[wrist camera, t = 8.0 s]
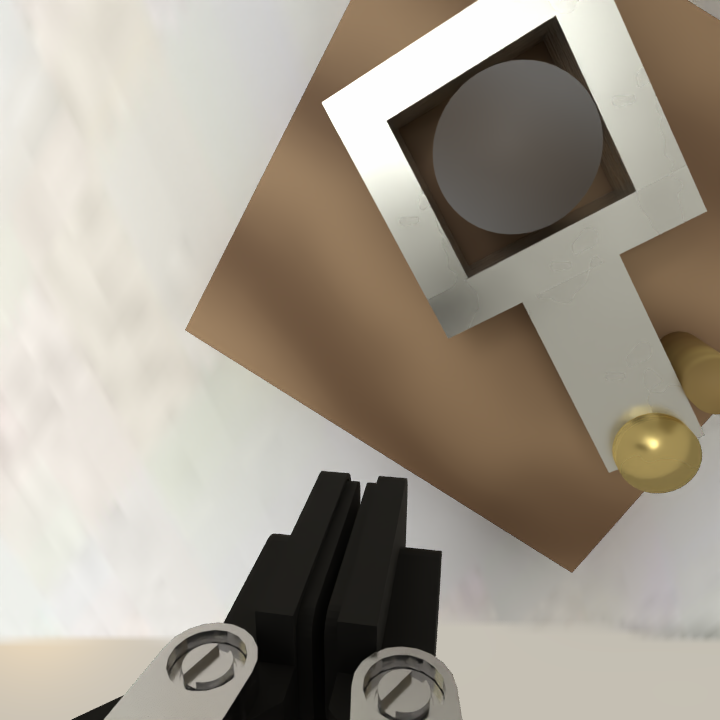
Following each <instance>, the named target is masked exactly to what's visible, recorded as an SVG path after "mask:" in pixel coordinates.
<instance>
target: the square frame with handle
mask: <svg viewBox="0 0 720 720" xmlns="http://www.w3.org/2000/svg"><path fill="white" fill-rule="evenodd" d="M541 41H544V43H545V45H546V47H547V49H548V51H549V53H550V56H551V58H552V60H553V62H554V64H555V66H557V67H559V68H560V69H562V70H564V71H566V72H568V73H569V74H570V75H572V76H573V77H574V78H576V79H577V80H578V81H579V82H580V83H581V84H582V85H583V86H584V88H585V89H586V90H587V92H588V93H589V94H590V96H591V98H592V100H593V101H594V103H595V105H596V108H597V111H598V113H599V116H600V120H601V125H602V133H603V148H602V156H601V161H600V163H601V165H602V167H603V169H604V172H605V174H606V176H607V178H608V180H609V182H610V184H611V187H612V189H613V191H611V192H609V193H607V194H605V195H603V196H602V197H600V198H598V199H596V200H594V201H592V202H590V203H588V204H586V205H584V206H582V207H581V208H579V209H577V210H575V211H573V212H571V213H569V214H567V215H565V216H564V217H562V218H561V219H560V220H558V221H556V222H555V223H553V224H551V225H549V226H547V227H544V228H542V229H539V230H537V231H535V232H533V233H531V234H529V235H527V236H525V237H523V238H521V239H520V240H518V241H516V242H514V243H512V244H510V245H508V246H506V247H504V248H502V249H500V250H499V251H497V252H495V253H493V254H491V255H489V256H487V257H485V258H483V259H481V260H479V261H478V262H476V263H474V264H472V265H470V266H468V264H467V262H466V260H465V258H464V256H463V254H462V252H461V250H460V248H459V246H458V244H457V243H456V241H455V239H454V237H453V235H452V233H451V231H450V229H449V227H448V225H447V223H446V221H445V219H444V217H443V215H442V214H441V212H440V210H439V208H438V206H437V204H436V202H435V200H434V198H433V196H432V194H431V192H430V190H429V188H428V187H427V185H426V183H425V181H424V179H423V177H422V175H421V173H420V171H419V169H418V167H417V165H416V163H415V161H414V159H413V158H412V156H411V154H410V152H409V150H408V148H407V146H406V144H405V142H404V140H403V138H402V136H401V134H400V132H399V130H398V129H400V128H401V127H403V126H405V125H406V124H408V123H409V122H411V121H413V120H414V119H416V118H418V117H419V116H421V115H422V114H424V113H426V112H427V111H429V110H431V109H432V108H434V107H435V106H437V105H439V104H440V103H442V102H444V101H445V100H447V99H449V98H450V97H452V96H453V95H454V94H455V93H456V92H457V91H458V89H459V88H460V87H461V86H462V85H463V84H465V83H466V82H467V81H468V80H469V79H470V78H472V77H473V76H475V75H476V74H478V73H479V72H481V71H483V70H485V69H487V68H489V67H491V66H494V65H497V64H499V63H503V62H508V61H510V60H512V59H514V58H515V57H517V56H518V55H520V54H522V53H523V52H525V51H527V50H528V49H530V48H531V47H533V46H535V45H536V44H538V43H540V42H541ZM322 104H323V106H324V108H325V109H326V111H327V113H328V115H329V117H330V119H331V121H332V123H333V124H334V126H335V128H336V130H337V132H338V134H339V136H340V137H341V139H342V141H343V143H344V145H345V147H346V149H347V151H348V152H349V154H350V156H351V158H352V160H353V162H354V164H355V166H356V167H357V169H358V171H359V173H360V175H361V177H362V179H363V181H364V182H365V184H366V186H367V188H368V190H369V192H370V194H371V195H372V197H373V199H374V201H375V203H376V205H377V207H378V209H379V210H380V212H381V214H382V216H383V218H384V220H385V222H386V224H387V225H388V227H389V229H390V231H391V233H392V235H393V237H394V238H395V240H396V242H397V244H398V246H399V248H400V250H401V252H402V253H403V255H404V257H405V259H406V261H407V263H408V265H409V267H410V268H411V270H412V272H413V274H414V276H415V278H416V280H417V281H418V283H419V285H420V287H421V289H422V291H423V293H424V295H425V296H426V298H427V300H428V302H429V304H430V306H431V308H432V310H433V311H434V313H435V315H436V317H437V319H438V321H439V323H440V324H441V326H442V328H443V330H444V332H445V334H446V336H447V338H448V339H449V338H451V337H453V336H455V335H457V334H459V333H461V332H463V331H465V330H467V329H469V328H471V327H473V326H475V325H477V324H479V323H481V322H483V321H485V320H487V319H490V318H492V317H494V316H496V315H498V314H500V313H502V312H504V311H506V310H508V309H510V308H512V307H514V306H516V305H518V304H520V303H522V302H523V304H524V306H525V308H526V310H527V312H528V314H529V316H530V318H531V320H532V322H533V324H534V326H535V328H536V330H537V332H538V334H539V336H540V338H541V340H542V342H543V344H544V346H545V348H546V350H547V352H548V354H549V356H550V358H551V360H552V362H553V364H554V365H555V367H556V369H557V371H558V373H559V375H560V377H561V379H562V381H563V383H564V385H565V387H566V389H567V391H568V393H569V395H570V397H571V399H572V401H573V403H574V405H575V407H576V409H577V411H578V413H579V415H580V417H581V419H582V421H583V423H584V425H585V427H586V429H587V431H588V432H589V434H590V436H591V438H592V440H593V442H594V444H595V446H596V448H597V450H598V452H599V454H600V456H601V458H602V460H603V462H604V464H605V466H606V468H607V470H608V472H609V473H610V472H612V471H615V470H619V472H620V473H621V475H622V477H623V478H624V479H625V480H626V481H627V482H628V483H629V484H630V485H632V486H633V487H635V488H637V489H639V490H641V491H645V492H649V493H666V492H670V491H674V490H676V489H679V488H681V487H682V486H684V485H685V484H687V483H688V482H689V481H690V480H691V479H692V478H693V477H694V476H695V475H696V473H697V471H698V470H699V467H700V464H701V460H702V450H701V446H700V443H699V441H698V439H697V438H699V437H702V436H704V433H703V431H702V429H701V427H700V424H699V422H698V420H697V418H696V416H695V414H694V412H693V410H692V407H691V405H690V403H689V401H688V399H687V397H686V395H685V393H684V391H683V388H682V386H681V384H680V382H679V380H678V378H677V376H676V374H675V372H674V369H673V367H672V365H671V363H670V361H669V359H668V357H667V355H666V352H665V350H664V348H663V346H662V344H661V342H660V340H659V338H658V336H657V333H656V331H655V329H654V327H653V325H652V323H651V321H650V319H649V317H648V314H647V312H646V310H645V308H644V306H643V304H642V302H641V300H640V297H639V295H638V293H637V291H636V289H635V287H634V285H633V283H632V281H631V278H630V276H629V274H628V272H627V270H626V268H625V266H624V264H623V262H622V259H621V257H620V255H619V254H621V253H623V252H625V251H627V250H629V249H632V248H634V247H636V246H638V245H640V244H642V243H644V242H646V241H648V240H650V239H652V238H654V237H656V236H658V235H660V234H662V233H664V232H666V231H668V230H670V229H672V228H674V227H676V226H678V225H680V224H682V223H684V222H686V221H688V220H690V219H692V218H694V217H696V216H698V215H700V214H703V213H705V212H707V210H706V208H705V205H704V203H703V201H702V198H701V196H700V194H699V192H698V189H697V187H696V185H695V183H694V180H693V178H692V176H691V174H690V171H689V169H688V167H687V165H686V162H685V160H684V158H683V155H682V153H681V151H680V149H679V146H678V144H677V142H676V140H675V137H674V135H673V133H672V131H671V128H670V126H669V124H668V122H667V119H666V117H665V115H664V112H663V110H662V108H661V106H660V103H659V101H658V99H657V97H656V94H655V92H654V90H653V88H652V85H651V83H650V81H649V79H648V76H647V74H646V72H645V69H644V67H643V65H642V63H641V60H640V58H639V56H638V54H637V51H636V49H635V47H634V45H633V42H632V40H631V38H630V36H629V33H628V31H627V29H626V26H625V24H624V22H623V20H622V17H621V15H620V13H619V11H618V8H617V6H616V4H615V2H614V0H478V1H476V2H475V3H473V4H472V5H470V6H469V7H467V8H466V9H464V10H463V11H461V12H460V13H458V14H457V15H455V16H454V17H452V18H450V19H449V20H447V21H446V22H444V23H443V24H441V25H440V26H438V27H437V28H435V29H434V30H432V31H431V32H429V33H428V34H426V35H424V36H423V37H421V38H420V39H418V40H417V41H415V42H414V43H412V44H411V45H409V46H408V47H406V48H405V49H403V50H402V51H400V52H398V53H397V54H395V55H394V56H392V57H391V58H389V59H388V60H386V61H385V62H383V63H382V64H380V65H379V66H377V67H376V68H374V69H373V70H371V71H369V72H368V73H366V74H365V75H363V76H362V77H360V78H359V79H357V80H356V81H354V82H353V83H351V84H350V85H348V86H347V87H345V88H343V89H342V90H340V91H339V92H337V93H336V94H334V95H333V96H331V97H330V98H328V99H327V100H325V101H324V102H322Z"/></svg>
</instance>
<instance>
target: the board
mask: <svg viewBox="0 0 720 720" xmlns="http://www.w3.org/2000/svg"><path fill="white" fill-rule="evenodd" d="M476 1H478V0H351V1H350V3H349V5H348V7H347V9H346V11H345V13H344V15H343V17H342V19H341V21H340V23H339V25H338V27H337V29H336V31H335V33H334V35H333V37H332V39H331V41H330V42H329V44H328V46H327V48H326V50H325V52H324V54H323V56H322V58H321V60H320V62H319V64H318V66H317V68H316V70H315V72H314V74H313V76H312V78H311V80H310V82H309V84H308V86H307V88H306V90H305V92H304V94H303V96H302V98H301V100H300V102H299V104H298V106H297V108H296V110H295V112H294V114H293V116H292V118H291V120H290V122H289V124H288V126H287V128H286V130H285V132H284V134H283V136H282V138H281V140H280V142H279V144H278V146H277V148H276V150H275V152H274V154H273V156H272V158H271V160H270V162H269V164H268V166H267V168H266V170H265V172H264V174H263V176H262V178H261V180H260V182H259V184H258V186H257V188H256V190H255V192H254V194H253V196H252V198H251V200H250V202H249V204H248V206H247V208H246V210H245V212H244V214H243V216H242V218H241V220H240V222H239V224H238V226H237V228H236V230H235V232H234V234H233V236H232V238H231V240H230V242H229V244H228V246H227V248H226V250H225V252H224V254H223V256H222V258H221V259H220V261H219V263H218V265H217V267H216V269H215V271H214V273H213V275H212V277H211V279H210V281H209V283H208V285H207V287H206V289H205V291H204V293H203V295H202V297H201V299H200V301H199V303H198V305H197V307H196V309H195V311H194V313H193V315H192V317H191V319H190V321H189V323H188V325H187V327H186V329H185V330H186V331H187V332H189V333H190V334H192V335H194V336H195V337H197V338H198V339H200V340H202V341H203V342H205V343H206V344H208V345H210V346H211V347H213V348H214V349H216V350H218V351H219V352H221V353H222V354H224V355H225V356H227V357H229V358H230V359H232V360H233V361H235V362H237V363H238V364H240V365H241V366H243V367H245V368H246V369H248V370H249V371H251V372H253V373H254V374H256V375H257V376H259V377H261V378H262V379H264V380H265V381H267V382H269V383H270V384H272V385H273V386H275V387H277V388H278V389H280V390H281V391H283V392H284V393H286V394H288V395H289V396H291V397H292V398H294V399H296V400H297V401H299V402H300V403H302V404H304V405H305V406H307V407H308V408H310V409H312V410H313V411H315V412H316V413H318V414H320V415H321V416H323V417H324V418H326V419H328V420H329V421H331V422H332V423H334V424H336V425H337V426H339V427H340V428H342V429H343V430H345V431H347V432H348V433H350V434H351V435H353V436H355V437H356V438H358V439H359V440H361V441H363V442H364V443H366V444H367V445H369V446H371V447H372V448H374V449H375V450H377V451H379V452H380V453H382V454H383V455H385V456H387V457H388V458H390V459H391V460H393V461H395V462H396V463H398V464H399V465H401V466H402V467H404V468H406V469H407V470H409V471H410V472H412V473H414V474H415V475H417V476H418V477H420V478H422V479H423V480H425V481H426V482H428V483H430V484H431V485H433V486H434V487H436V488H438V489H439V490H441V491H442V492H444V493H446V494H447V495H449V496H450V497H452V498H453V499H455V500H457V501H458V502H460V503H461V504H463V505H465V506H466V507H468V508H469V509H471V510H473V511H474V512H476V513H477V514H479V515H481V516H482V517H484V518H485V519H487V520H489V521H490V522H492V523H493V524H495V525H497V526H498V527H500V528H501V529H503V530H505V531H506V532H508V533H509V534H511V535H512V536H514V537H516V538H517V539H519V540H520V541H522V542H524V543H525V544H527V545H528V546H530V547H532V548H533V549H535V550H536V551H538V552H540V553H541V554H543V555H544V556H546V557H548V558H549V559H551V560H552V561H554V562H556V563H557V564H559V565H560V566H562V567H564V568H565V569H567V570H568V571H570V572H571V573H572V572H573V571H574V570H575V569H576V568H577V567H578V565H579V564H580V563H581V562H582V561H583V560H584V559H585V558H586V556H587V555H588V554H589V553H590V552H591V551H592V550H593V549H594V547H595V546H596V545H597V544H598V543H599V542H600V541H601V539H602V538H603V537H604V536H605V535H606V534H607V533H608V532H609V530H610V529H611V528H612V527H613V526H614V525H615V524H616V523H617V521H618V520H619V519H620V518H621V517H622V516H623V515H624V514H625V512H626V511H627V510H628V509H629V508H630V507H631V506H632V504H633V503H634V502H635V501H636V500H637V499H638V498H639V497H640V495H641V494H642V493H643V492H644V491H641V490H639V489H637V488H635V487H633V486H632V485H630V484H629V483H628V482H627V481H626V480H625V479H624V478H623V477H622V475H621V473H620V472H619V470H615V471H612V472H610V473H609V472H608V470H607V468H606V466H605V464H604V462H603V460H602V458H601V456H600V454H599V452H598V450H597V448H596V446H595V444H594V442H593V440H592V438H591V436H590V434H589V432H588V431H587V429H586V427H585V425H584V423H583V421H582V419H581V417H580V415H579V413H578V411H577V409H576V407H575V405H574V403H573V401H572V399H571V397H570V395H569V393H568V391H567V389H566V387H565V385H564V383H563V381H562V379H561V377H560V375H559V373H558V371H557V369H556V367H555V365H554V364H553V362H552V360H551V358H550V356H549V354H548V352H547V350H546V348H545V346H544V344H543V342H542V340H541V338H540V336H539V334H538V332H537V330H536V328H535V326H534V324H533V322H532V320H531V318H530V316H529V314H528V312H527V310H526V308H525V306H524V304H523V302H522V303H520V304H518V305H516V306H514V307H512V308H510V309H508V310H506V311H504V312H502V313H500V314H498V315H496V316H494V317H492V318H490V319H487V320H485V321H483V322H481V323H479V324H477V325H475V326H473V327H471V328H469V329H467V330H465V331H463V332H461V333H459V334H457V335H455V336H453V337H451V338H449V339H448V338H447V336H446V334H445V332H444V330H443V328H442V326H441V324H440V323H439V321H438V319H437V317H436V315H435V313H434V311H433V310H432V308H431V306H430V304H429V302H428V300H427V298H426V296H425V295H424V293H423V291H422V289H421V287H420V285H419V283H418V281H417V280H416V278H415V276H414V274H413V272H412V270H411V268H410V267H409V265H408V263H407V261H406V259H405V257H404V255H403V253H402V252H401V250H400V248H399V246H398V244H397V242H396V240H395V238H394V237H393V235H392V233H391V231H390V229H389V227H388V225H387V224H386V222H385V220H384V218H383V216H382V214H381V212H380V210H379V209H378V207H377V205H376V203H375V201H374V199H373V197H372V195H371V194H370V192H369V190H368V188H367V186H366V184H365V182H364V181H363V179H362V177H361V175H360V173H359V171H358V169H357V167H356V166H355V164H354V162H353V160H352V158H351V156H350V154H349V152H348V151H347V149H346V147H345V145H344V143H343V141H342V139H341V137H340V136H339V134H338V132H337V130H336V128H335V126H334V124H333V123H332V121H331V119H330V117H329V115H328V113H327V111H326V109H325V108H324V106H323V104H322V102H324V101H325V100H327V99H328V98H330V97H331V96H333V95H334V94H336V93H337V92H339V91H340V90H342V89H343V88H345V87H347V86H348V85H350V84H351V83H353V82H354V81H356V80H357V79H359V78H360V77H362V76H363V75H365V74H366V73H368V72H369V71H371V70H373V69H374V68H376V67H377V66H379V65H380V64H382V63H383V62H385V61H386V60H388V59H389V58H391V57H392V56H394V55H395V54H397V53H398V52H400V51H402V50H403V49H405V48H406V47H408V46H409V45H411V44H412V43H414V42H415V41H417V40H418V39H420V38H421V37H423V36H424V35H426V34H428V33H429V32H431V31H432V30H434V29H435V28H437V27H438V26H440V25H441V24H443V23H444V22H446V21H447V20H449V19H450V18H452V17H454V16H455V15H457V14H458V13H460V12H461V11H463V10H464V9H466V8H467V7H469V6H470V5H472V4H473V3H475V2H476ZM614 2H615V4H616V6H617V8H618V11H619V13H620V15H621V17H622V20H623V22H624V24H625V26H626V29H627V31H628V33H629V36H630V38H631V40H632V42H633V45H634V47H635V49H636V51H637V54H638V56H639V58H640V60H641V63H642V65H643V67H644V69H645V72H646V74H647V76H648V79H649V81H650V83H651V85H652V88H653V90H654V92H655V94H656V97H657V99H658V101H659V103H660V106H661V108H662V110H663V112H664V115H665V117H666V119H667V122H668V124H669V126H670V128H671V131H672V133H673V135H674V137H675V140H676V142H677V144H678V146H679V149H680V151H681V153H682V155H683V158H684V160H685V162H686V165H687V167H688V169H689V171H690V174H691V176H692V178H693V180H694V183H695V185H696V187H697V189H698V192H699V194H700V196H701V198H702V201H703V203H704V205H705V208H706V210H707V212H705V213H703V214H700V215H698V216H696V217H694V218H692V219H690V220H688V221H686V222H684V223H682V224H680V225H678V226H676V227H674V228H672V229H670V230H668V231H666V232H664V233H662V234H660V235H658V236H656V237H654V238H652V239H650V240H648V241H646V242H644V243H642V244H640V245H638V246H636V247H634V248H632V249H629V250H627V251H625V252H623V253H621V254H619V255H620V257H621V259H622V262H623V264H624V266H625V268H626V270H627V272H628V274H629V276H630V278H631V281H632V283H633V285H634V287H635V289H636V291H637V293H638V295H639V297H640V300H641V302H642V304H643V306H644V308H645V310H646V312H647V314H648V317H649V319H650V321H651V323H652V325H653V327H654V329H655V331H656V333H657V336H658V338H659V340H660V342H661V344H662V346H663V348H664V350H665V352H666V355H667V357H668V359H669V361H670V363H671V365H672V367H673V369H674V372H675V374H676V376H677V378H678V380H679V382H680V384H681V386H682V388H683V391H684V393H685V395H686V397H687V399H688V401H689V403H690V405H691V407H692V410H693V412H694V414H695V416H696V418H697V420H698V422H699V424H700V427H701V426H702V425H703V424H704V423H705V422H706V421H707V420H708V419H709V417H710V416H711V415H712V414H720V20H718V19H717V18H715V17H713V16H712V15H710V14H709V13H707V12H705V11H704V10H702V9H701V8H699V7H697V6H696V5H694V4H693V3H691V2H689V1H688V0H614ZM398 130H399V132H400V134H401V136H402V138H403V140H404V142H405V144H406V146H407V148H408V150H409V152H410V154H411V156H412V158H413V159H414V161H415V163H416V165H417V167H418V169H419V171H420V173H421V175H422V177H423V179H424V181H425V183H426V185H427V187H428V188H429V190H430V192H431V194H432V196H433V198H434V200H435V202H436V204H437V206H438V208H439V210H440V212H441V214H442V215H443V217H444V219H445V221H446V223H447V225H448V227H449V229H450V231H451V233H452V235H453V237H454V239H455V241H456V243H457V244H458V246H459V248H460V250H461V252H462V254H463V256H464V258H465V260H466V262H467V264H468V266H470V265H472V264H474V263H476V262H478V261H479V260H481V259H483V258H485V257H487V256H489V255H491V254H493V253H495V252H497V251H499V250H500V249H502V248H504V247H506V246H508V245H510V244H512V243H514V242H516V241H518V240H520V239H521V238H523V237H525V236H527V235H529V234H531V233H533V232H535V231H537V230H539V229H542V228H544V227H547V226H549V225H551V224H553V223H555V222H556V221H558V220H560V219H561V218H562V217H564V216H565V215H567V214H569V213H571V212H573V211H575V210H577V209H579V208H581V207H582V206H584V205H586V204H588V203H590V202H592V201H594V200H596V199H598V198H600V197H602V196H603V195H605V194H607V193H609V192H611V191H613V189H612V187H611V184H610V182H609V180H608V178H607V176H606V174H605V172H604V169H603V167H602V165H601V163H600V161H601V156H602V148H603V133H602V125H601V120H600V116H599V113H598V111H597V108H596V105H595V103H594V101H593V100H592V98H591V96H590V94H589V93H588V92H587V90H586V89H585V88H584V86H583V85H582V84H581V83H580V82H579V81H578V80H577V79H576V78H574V77H573V76H572V75H570V74H569V73H568V72H566V71H564V70H562V69H560V68H559V67H557V66H555V64H554V62H553V60H552V58H551V56H550V53H549V51H548V49H547V47H546V45H545V43H544V41H541V42H540V43H538V44H536V45H535V46H533V47H531V48H530V49H528V50H527V51H525V52H523V53H522V54H520V55H518V56H517V57H515V58H514V59H512V60H510V61H508V62H503V63H499V64H497V65H494V66H491V67H489V68H487V69H485V70H483V71H481V72H479V73H478V74H476V75H475V76H473V77H472V78H470V79H469V80H468V81H467V82H466V83H465V84H463V85H462V86H461V87H460V88H459V89H458V91H457V92H456V93H455V94H454V95H453V96H452V97H450V98H449V99H447V100H445V101H444V102H442V103H440V104H439V105H437V106H435V107H434V108H432V109H431V110H429V111H427V112H426V113H424V114H422V115H421V116H419V117H418V118H416V119H414V120H413V121H411V122H409V123H408V124H406V125H405V126H403V127H401V128H400V129H398Z"/></svg>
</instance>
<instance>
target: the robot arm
mask: <svg viewBox="0 0 720 720" xmlns="http://www.w3.org/2000/svg"><path fill="white" fill-rule="evenodd" d="M407 486H408V484H407V478H396V477H385V476H379V477H378V480H377V483H367V485H366V488H365V491H364V495H363V498H362V501H361V504H360V482H357V481H351V477H350V474H349V473H339V472H327V471H321V473H320V474H319V476H318V479H317V481H316V483H315V485H314V487H313V489H312V491H311V493H310V495H309V498H308V500H307V502H306V504H305V506H304V508H303V510H302V512H301V514H300V517H299V519H298V521H297V523H296V525H295V527H294V529H293V531H292V533H291V535H283V534H272V535H270V537H269V538H268V540H267V542H266V544H265V546H264V547H263V549H262V551H261V553H260V555H259V557H258V559H257V561H256V563H255V564H254V566H253V568H252V570H251V572H250V574H249V576H248V578H247V580H246V581H245V583H244V585H243V587H242V589H241V591H240V593H239V595H238V597H237V599H236V600H235V602H234V604H233V606H232V608H231V610H230V612H229V614H228V616H227V617H226V619H225V621H224V623H210V624H203V625H200V626H196V627H193V628H190V629H188V630H186V631H184V632H183V633H181V634H179V635H177V636H176V637H174V638H173V639H172V640H171V641H170V642H169V643H168V644H167V645H166V646H165V647H164V648H163V649H162V650H161V652H160V653H159V654H158V655H157V656H156V658H155V659H154V660H153V661H152V662H151V664H150V665H149V666H148V667H147V668H146V670H145V671H144V672H143V673H142V674H141V676H140V677H139V678H138V679H137V680H136V682H135V683H134V684H133V685H132V686H131V688H130V689H129V690H128V691H127V692H126V694H125V695H123V696H121V697H119V698H117V699H115V700H113V701H110V702H108V703H106V704H104V705H102V706H100V707H98V708H95V709H93V710H91V711H89V712H87V713H85V714H83V715H80V716H78V717H76V718H74V719H72V720H462V716H461V709H460V702H459V696H458V690H457V686H456V683H455V680H454V677H453V674H452V673H451V672H450V671H449V669H448V668H447V667H446V665H445V664H444V663H443V662H442V661H440V660H439V659H437V658H436V657H435V656H436V642H437V627H438V611H439V594H440V576H441V557H442V551H435V550H426V549H416V548H407V547H406V519H407Z"/></svg>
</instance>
